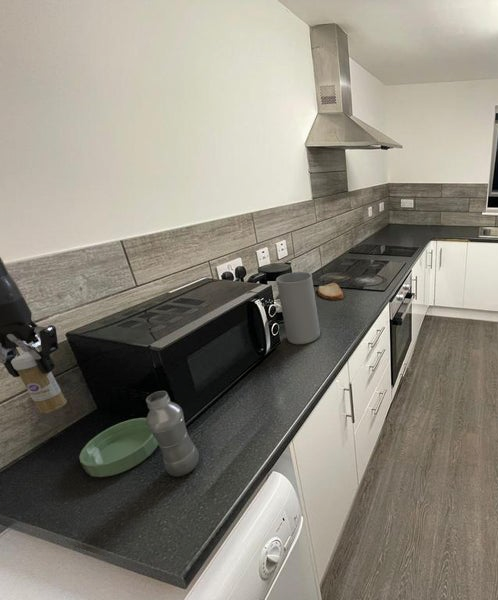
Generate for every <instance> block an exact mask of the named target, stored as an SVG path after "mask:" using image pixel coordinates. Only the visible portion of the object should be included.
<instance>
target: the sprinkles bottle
mask: <svg viewBox="0 0 498 600" xmlns="http://www.w3.org/2000/svg"><path fill="white" fill-rule="evenodd" d="M35 360H36V359H35V358H34V357H33V356H32V355H31V354H30V353H29V352H25V353H22V354H20V355H18V356H15V358H14V359H13V360H12V361H11V364H12V366H13V367H14V369H15V370H16V371H18V373H19V375H20V379H21V380H22V383H23V384H24V386H25V389H26V391H27V392H28V395H29V396H30V397H31V399H32V401H33V402H34V404H35V406H36V407H37V409H38V412H39V413H40V414H48V413H52V412H55V411H57V410H60V409H61V408H63V407H64V406H65V405H66V404H67V402H68V400H67V398H65V395H64V393H63V392H62V390H61V388H60V386H59V383H58V382H57V380H56V378H55V376H54V374H53V372H52V371H50V372H49V373H46V374H42V372H41V371H40V369H39V367H38V365H37V363H36V361H35Z"/></svg>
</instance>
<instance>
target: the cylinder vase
mask: <svg viewBox="0 0 498 600" xmlns="http://www.w3.org/2000/svg"><path fill="white" fill-rule="evenodd" d="M275 281H276V286H277V291H278V296H279V297H278V298H279V301H280V307H281V313H282V318H283V323H284V328H285V334H286V339H287V341H288V342H289V343H291V344H293V345H305V344H306V345H307V344H309V343H312V342H314V341H316V340H318V338H320V335H321V330H320V324H319V323H320V321H319V316H318V309H317V302H316V296H315V289H314V282H313V274H312V273H310V272H306V271H296V272H288V273H285V274H281V275H279V276H277V277H276V279H275Z"/></svg>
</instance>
